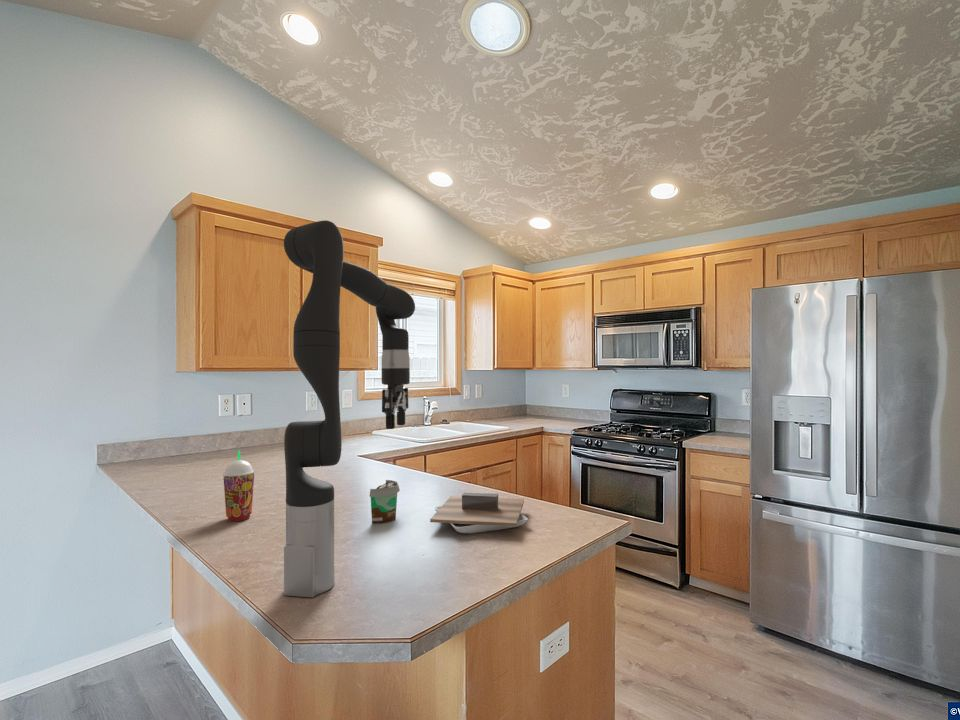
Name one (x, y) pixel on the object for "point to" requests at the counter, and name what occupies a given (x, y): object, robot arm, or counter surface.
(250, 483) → the smoothie
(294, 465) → the robot arm
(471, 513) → the cover board
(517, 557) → the counter surface
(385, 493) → the food container
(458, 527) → the salad plate
